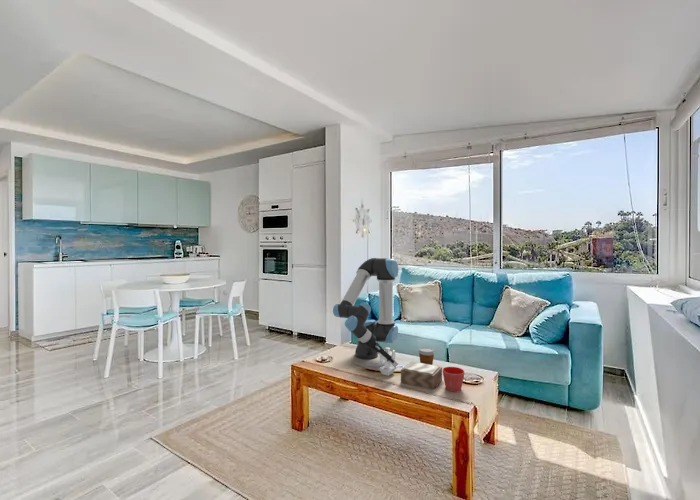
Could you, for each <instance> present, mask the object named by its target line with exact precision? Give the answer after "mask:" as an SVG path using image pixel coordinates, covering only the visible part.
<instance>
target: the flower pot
mask: <svg viewBox="0 0 700 500" xmlns="http://www.w3.org/2000/svg"><path fill="white" fill-rule="evenodd" d="M464 376H465V370H464V369H463V368H461V367H457V366H446V367H442V377H443V381H444V386H445V389H446V390H447V391H450V392H453V393H455V392H460V391H461V390H462V387H463V382H464V378H465V377H464Z"/></svg>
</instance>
